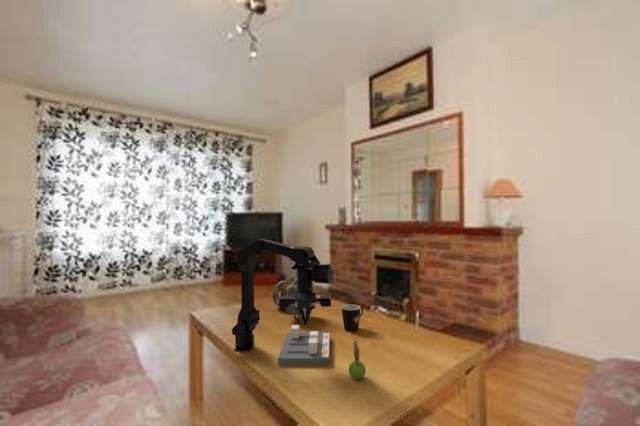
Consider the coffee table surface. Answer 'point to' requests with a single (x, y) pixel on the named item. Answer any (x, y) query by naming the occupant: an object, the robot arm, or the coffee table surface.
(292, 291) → the tabletop clock
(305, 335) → the switch panel
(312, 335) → the middle slider
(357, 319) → the coffee mug
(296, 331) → the far slider
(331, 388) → the coffee table surface
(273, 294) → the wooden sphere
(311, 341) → the near slider
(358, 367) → the snail figurine
